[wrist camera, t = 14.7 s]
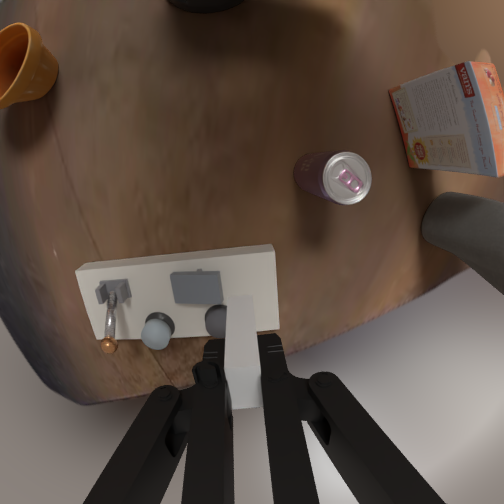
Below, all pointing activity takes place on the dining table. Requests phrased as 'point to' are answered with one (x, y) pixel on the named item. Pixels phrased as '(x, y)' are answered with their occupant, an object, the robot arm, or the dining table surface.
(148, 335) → the button
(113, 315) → the lever
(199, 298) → the block
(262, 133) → the dining table surface
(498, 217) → the vase
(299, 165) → the beverage can
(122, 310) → the console
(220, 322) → the button
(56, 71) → the flower pot
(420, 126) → the cracker box
